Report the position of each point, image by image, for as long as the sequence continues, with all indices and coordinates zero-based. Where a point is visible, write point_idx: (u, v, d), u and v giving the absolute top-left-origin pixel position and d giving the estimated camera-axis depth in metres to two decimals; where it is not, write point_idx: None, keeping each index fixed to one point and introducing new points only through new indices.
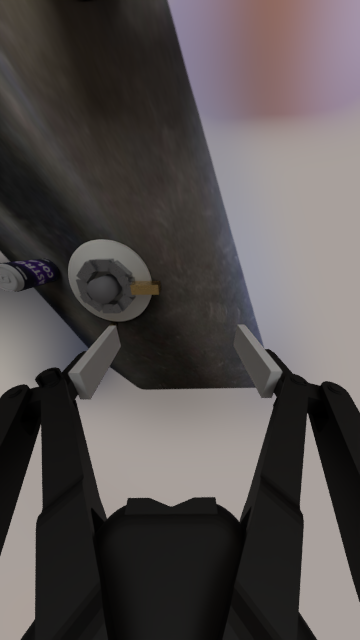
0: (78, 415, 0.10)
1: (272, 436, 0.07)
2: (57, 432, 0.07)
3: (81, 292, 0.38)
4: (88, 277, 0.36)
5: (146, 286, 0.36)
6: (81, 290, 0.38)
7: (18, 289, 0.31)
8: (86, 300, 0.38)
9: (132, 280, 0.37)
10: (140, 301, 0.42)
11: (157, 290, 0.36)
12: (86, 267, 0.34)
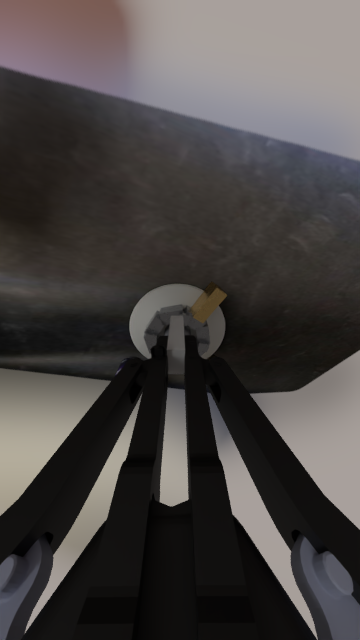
0: (166, 392, 0.11)
1: (188, 414, 0.08)
2: (150, 400, 0.08)
3: None
4: None
5: (207, 301, 0.26)
6: None
7: None
8: None
9: (189, 310, 0.29)
10: (213, 318, 0.33)
11: (221, 293, 0.25)
12: (148, 340, 0.30)
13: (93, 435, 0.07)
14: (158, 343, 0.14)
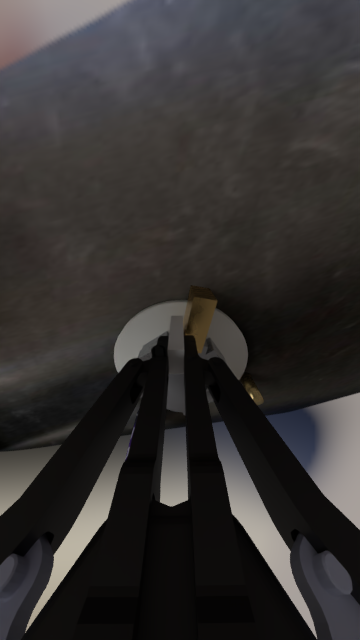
0: (167, 392, 0.11)
1: (188, 414, 0.08)
2: (151, 400, 0.08)
3: None
4: None
5: (191, 322, 0.16)
6: None
7: None
8: None
9: None
10: (220, 331, 0.22)
11: (206, 301, 0.15)
12: (142, 395, 0.22)
13: (94, 435, 0.07)
14: (159, 343, 0.14)
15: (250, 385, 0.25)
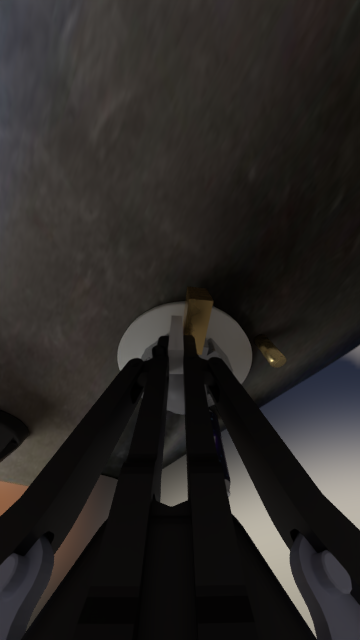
0: (167, 392, 0.11)
1: (187, 414, 0.08)
2: (151, 400, 0.08)
3: None
4: None
5: (188, 324, 0.16)
6: None
7: None
8: None
9: None
10: None
11: (202, 302, 0.14)
12: None
13: (94, 435, 0.07)
14: (159, 343, 0.14)
15: (264, 347, 0.21)
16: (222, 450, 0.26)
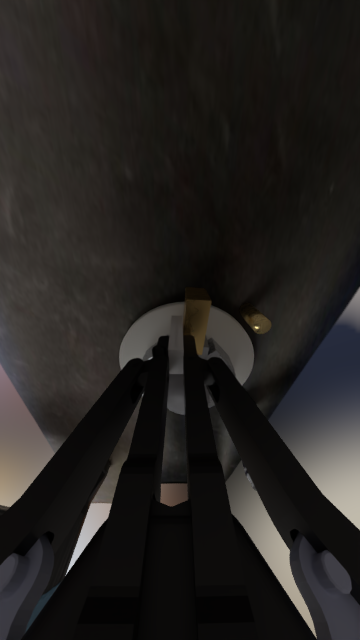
0: (167, 392, 0.11)
1: (187, 414, 0.08)
2: (151, 400, 0.08)
3: None
4: None
5: (187, 325, 0.16)
6: None
7: None
8: None
9: None
10: (159, 326, 0.21)
11: (200, 302, 0.14)
12: None
13: (94, 435, 0.07)
14: (159, 343, 0.14)
15: (246, 316, 0.19)
16: None
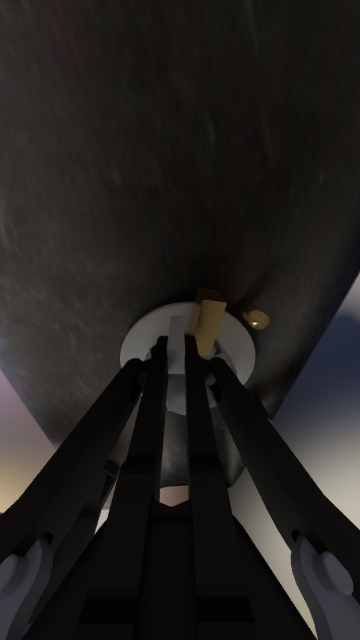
0: (166, 392, 0.11)
1: (188, 414, 0.08)
2: (150, 400, 0.08)
3: None
4: None
5: (200, 325, 0.16)
6: None
7: None
8: None
9: None
10: (157, 328, 0.21)
11: (216, 303, 0.14)
12: None
13: (93, 435, 0.07)
14: (158, 343, 0.14)
15: (244, 313, 0.19)
16: None
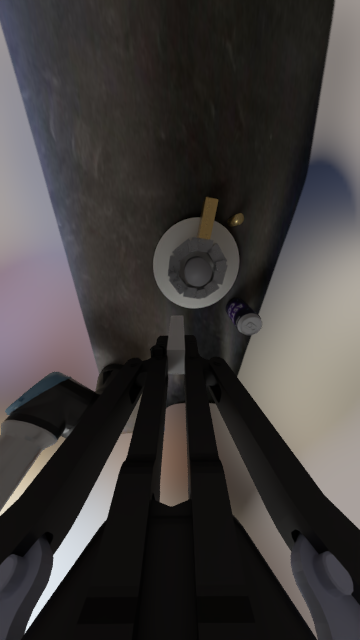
0: (166, 392, 0.11)
1: (188, 414, 0.08)
2: (150, 400, 0.08)
3: (195, 296, 0.38)
4: (183, 283, 0.37)
5: (204, 215, 0.29)
6: (193, 295, 0.38)
7: (252, 315, 0.34)
8: (204, 294, 0.37)
9: (195, 237, 0.33)
10: (178, 234, 0.35)
11: (212, 200, 0.28)
12: (173, 280, 0.35)
13: (93, 435, 0.07)
14: (158, 343, 0.14)
15: (230, 220, 0.32)
16: (249, 307, 0.37)
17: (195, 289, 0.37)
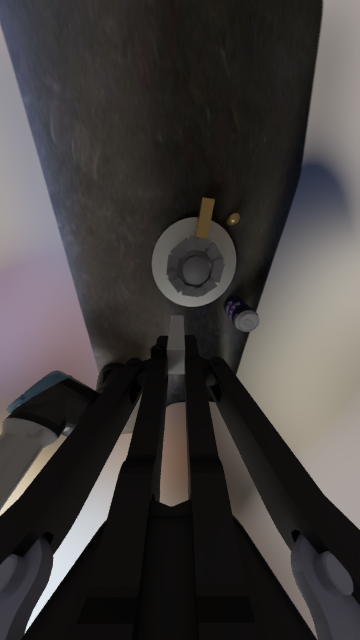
0: (166, 392, 0.11)
1: (188, 414, 0.08)
2: (150, 400, 0.08)
3: (193, 295, 0.39)
4: (181, 282, 0.38)
5: (201, 215, 0.30)
6: (192, 294, 0.39)
7: (249, 311, 0.34)
8: (202, 292, 0.38)
9: None
10: (176, 234, 0.36)
11: (209, 200, 0.29)
12: (172, 278, 0.36)
13: (93, 435, 0.07)
14: (158, 343, 0.14)
15: (227, 219, 0.33)
16: (246, 304, 0.38)
17: (193, 287, 0.38)
